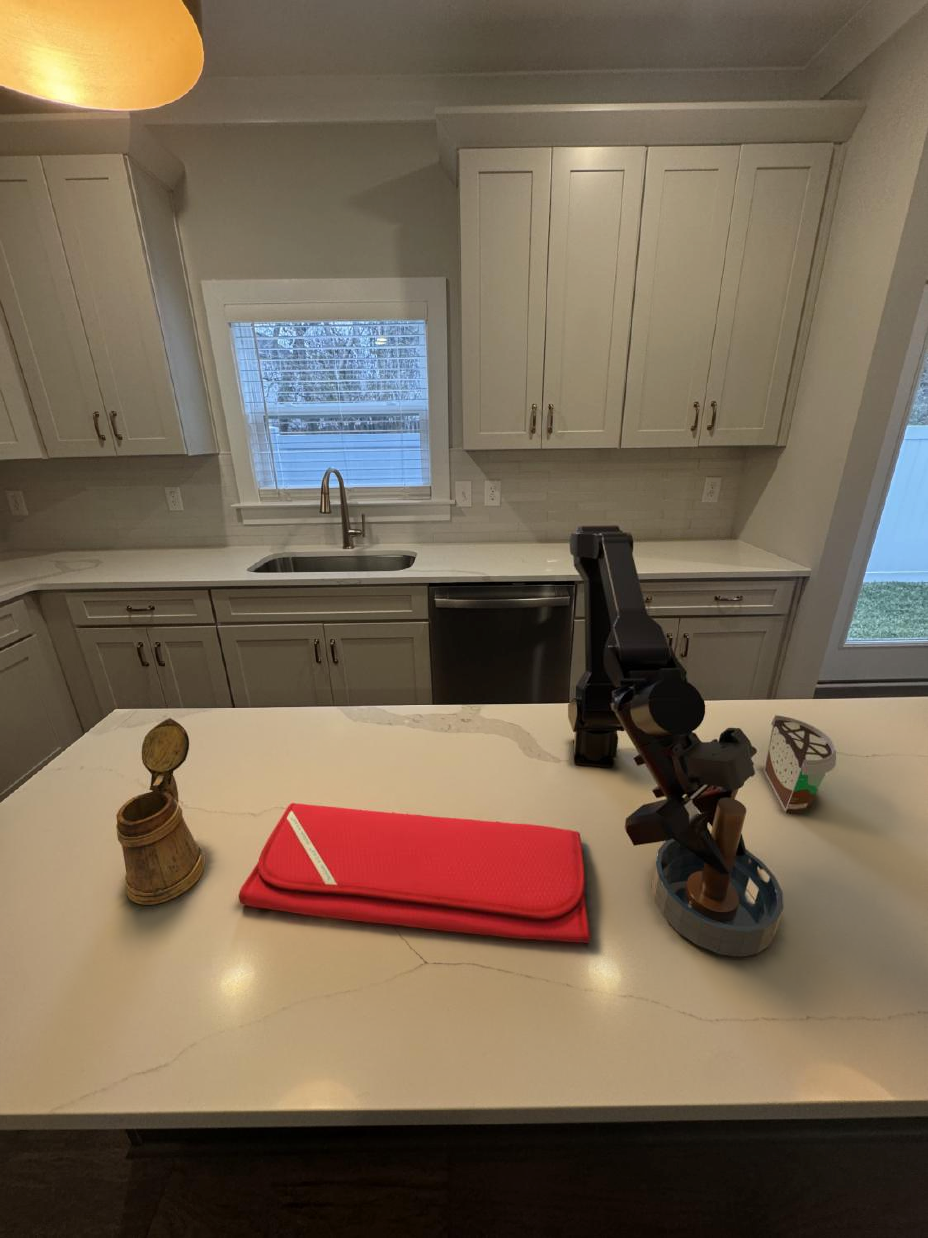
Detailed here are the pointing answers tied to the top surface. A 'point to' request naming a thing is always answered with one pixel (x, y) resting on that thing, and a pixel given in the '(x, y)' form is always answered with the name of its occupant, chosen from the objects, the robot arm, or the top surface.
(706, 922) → the bowl
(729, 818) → the stirring pestle
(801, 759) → the food container
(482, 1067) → the top surface
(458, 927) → the red folding pouch
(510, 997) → the top surface
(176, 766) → the wooden mug
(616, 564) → the robot arm
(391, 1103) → the top surface
